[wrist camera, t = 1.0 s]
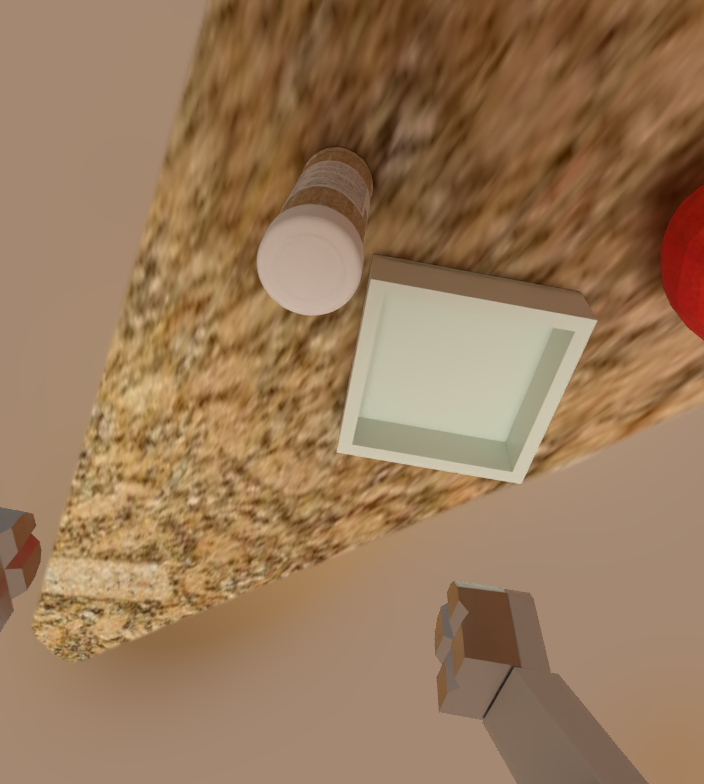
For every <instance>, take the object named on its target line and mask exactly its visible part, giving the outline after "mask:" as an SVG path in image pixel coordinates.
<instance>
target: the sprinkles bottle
mask: <svg viewBox="0 0 704 784" xmlns="http://www.w3.org/2000/svg"><path fill="white" fill-rule="evenodd" d="M372 193H373V180H372V176H371V173H370V170H369V168H368V166H367V165H366V163H365V161H364V160H363V159H362V158H361V157H359V156H358V155H357V154H356V153H354V152H352V151H351V150H349V149H346V148H341V147H330V148H326V149H323V150H321V151H319V152H317V153H315V154H314V155H313V156H312V157H311V158H310V159H309V160H308V162H307V163H306V164H305V167H304V168H303V170H302V173H301V176H300V177H299V179H298V180H297V182H296V184H295V186H294V188H293V189H292V191H291V193H290V195H289V197H288V198H287V200H286V202H285V204H284V205H283V207H282V209H281V212H280V214H279V215H278V216H277V217H276V218H275V219H274V220H273V221H272V223H271V224H270V226H269V227H268V229H267V230H266V232H265V234H264V236H263V239H262V241H261V243H260V246H259V249H258V254H257V269H258V275H259V278H260V281H261V283H262V285H263V287H264V288H265V290H266V292H267V293H268V294H269V296H270V297H271V298H272V299H273V300H274V301H276V302H277V303H278V304H279V305H281V306H282V307H284V308H286V309H288V310H290V311H292V312H295V313H298V314H302V315H322V314H327V313H330V312H332V311H335V310H337V309H339V308H340V307H342V306H343V305H344V304H346V303H347V302H348V301H349V300H350V299H351V297H352V296H353V295H354V293H355V291H356V290H357V288H358V286H359V283H360V279H361V275H362V270H363V263H364V251H363V238H364V235H365V229H366V226H367V222H368V215H369V209H370V200H371V197H372Z"/></svg>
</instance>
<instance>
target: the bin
mask: <svg viewBox="0 0 704 784" xmlns="http://www.w3.org/2000/svg"><path fill="white" fill-rule="evenodd" d="M596 322H597V319H596V317H595V315H594V314H593V312H592V310H591V309H590V307H589V305H588V303H587V302H586V300H585V298H584V297H583V295H582V293H581V292H578V291H573V290H567V289H562V288H556V287H551V286H545V285H540V284H535V283H529V282H524V281H518V280H513V279H507V278H502V277H497V276H491V275H486V274H480V273H475V272H469V271H464V270H459V269H453V268H448V267H442V266H437V265H431V264H426V263H421V262H415V261H410V260H404V259H399V258H393V257H388V256H383V255H377V254H373V258H372V264H371V269H370V274H369V279H368V284H367V289H366V295H365V300H364V305H363V310H362V315H361V320H360V325H359V331H358V336H357V341H356V346H355V351H354V356H353V361H352V367H351V372H350V377H349V382H348V387H347V392H346V398H345V403H344V408H343V413H342V418H341V425H340V432H339V439H338V446H337V453H343V454H349V455H355V456H361V457H366V458H372V459H378V460H384V461H390V462H396V463H401V464H407V465H413V466H419V467H425V468H431V469H436V470H442V471H448V472H454V473H460V474H466V475H471V476H477V477H483V478H489V479H495V480H501V481H506V482H512V483H518V484H521V483H522V481H523V479H524V477H525V475H526V473H527V471H528V468H529V466H530V464H531V462H532V460H533V458H534V456H535V453H536V451H537V449H538V447H539V445H540V443H541V441H542V438H543V436H544V434H545V432H546V430H547V428H548V425H549V423H550V421H551V419H552V417H553V415H554V413H555V410H556V408H557V406H558V404H559V402H560V400H561V398H562V395H563V393H564V391H565V389H566V387H567V385H568V383H569V380H570V378H571V376H572V374H573V372H574V370H575V367H576V365H577V363H578V361H579V359H580V357H581V355H582V352H583V350H584V348H585V346H586V344H587V342H588V340H589V337H590V335H591V333H592V331H593V329H594V327H595V325H596Z"/></svg>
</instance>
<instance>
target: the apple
mask: <svg viewBox="0 0 704 784" xmlns="http://www.w3.org/2000/svg"><path fill="white" fill-rule="evenodd" d="M661 275H662V282H663V288H664V291H665V293H666V295H667V298H668V300H669V302H670V305H671V306H672V308H673V309H674V310H675V312H676V313H677V314H678V315H679V317H680V318H681V319H682V321H683V322H684V323H685V324H686V326H687V327H688V328H689V329H690V330H692V331H693V332H694V333H695V334H696V335H698V336H699V337H700V338H701V339H703V340H704V184H703V185H701V186H700V187H699V188H698V189H696V190H695V191H694V192H693V193H692V194H690V195H689V196H688V197H687V198H685V199H684V200H683V201H682V203H681V204H680V205H679V207H678V208H677V210H676V211H675V213H674V214H673V216H672V217H671V219H670V221H669V224H668V226H667V229H666V232H665V234H664V237H663V241H662V244H661Z"/></svg>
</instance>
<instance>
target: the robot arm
mask: <svg viewBox="0 0 704 784" xmlns="http://www.w3.org/2000/svg"><path fill="white" fill-rule="evenodd" d="M35 527H36V523H35V519H34V515H33V514H32V513H28V512H23V511H17V510H12V509H7V508H2V507H0V631H1V630H2V628H3V627H4V625H5V624H6V622H7V620H8V619H9V618H10V616H11V614H12V613H13V611H14V609H13V603H12V599H13V598H15V597H17V596H18V595H20V594H22V593H23V592H25V591H27V589H28V588H29V586H30V585H31V583H32V581H33V580H34V578H35V576H36V573H37V570H38V567H39V565H40V562H41V561H40V560H41V546H40V542H39V541H38V540H37V539H36V538H35V537H34V536H33V535H32V534H31V533H32V531H33V530H34V528H35ZM447 597H448V603H447V604H445V605H443V606H442V607H441V609H440V612H439V615H438V618H437V623H436V629H435V655H436V657H437V658H438V659H439V661H440V662H441V664H442V666H441V669H440V671H439V673H438V675H437V688H438V689H437V690H438V705H439V712H442V713H448V714H453V715H459V716H465V717H470V718H475V719H480V720H483V722H482V723H483V724H484V726H485V728H486V729H487V731H488V733H489V735H490V737H491V738H492V740H493V742H494V744H495V745H496V747H497V749H498V751H499V752H500V754H501V756H502V758H503V759H504V761H505V763H506V765H507V767H508V768H509V770H510V772H511V774H512V775H513V777H514V779H515V781H516V782H517V784H648V782H647V781H646V780H645V779H644V777H643V776H642V775H641V774H640V773H639V771H638V770H637V769H636V768H635V767H634V765H633V764H632V763H631V762H630V760H629V759H628V758H627V757H626V756H625V754H624V753H623V752H622V751H621V750H620V748H619V747H618V746H617V745H616V744H615V742H614V741H613V740H612V739H611V737H610V736H609V735H608V734H607V732H606V731H605V730H604V729H603V728H602V726H601V725H600V724H599V723H598V722H597V720H596V719H595V718H594V717H593V716H592V714H591V713H590V712H589V711H588V709H587V708H586V707H585V706H584V704H583V703H582V702H581V701H580V700H579V698H578V697H577V696H576V695H575V694H574V692H573V691H572V690H571V689H570V687H569V686H568V685H567V684H566V683H565V681H564V680H563V679H562V678H561V677H560V675H559V674H555V673H551V671H550V667H549V662H548V658H547V654H546V650H545V646H544V641H543V637H542V633H541V629H540V625H539V621H538V616H537V612H536V608H535V603H534V599H533V597H532V596H531V594H530V593H527V592H520V591H514V590H508V589H502V588H499V587H492V586H485V585H479V584H472V583H465V582H459V581H453V582H452V583H451V584H450V587H449V589H448V592H447Z"/></svg>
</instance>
